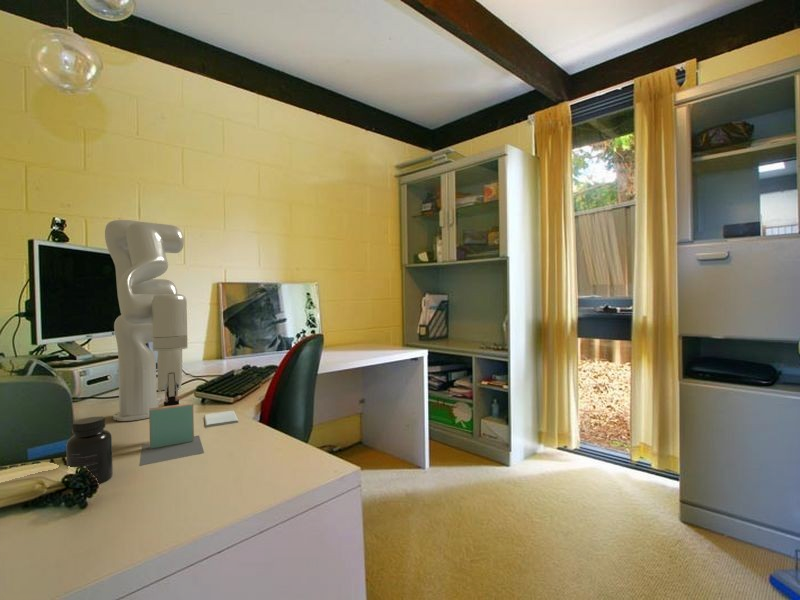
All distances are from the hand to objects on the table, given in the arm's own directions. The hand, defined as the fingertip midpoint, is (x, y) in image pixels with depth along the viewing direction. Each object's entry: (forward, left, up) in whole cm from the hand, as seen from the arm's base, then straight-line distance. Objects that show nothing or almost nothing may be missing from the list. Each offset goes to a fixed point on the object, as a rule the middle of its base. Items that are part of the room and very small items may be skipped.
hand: (171, 416), depth 97 cm
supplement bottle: (+23, -1, -6) cm, 24 cm away
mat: (+7, +5, -6) cm, 10 cm away
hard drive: (-16, +4, -6) cm, 18 cm away
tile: (+4, +3, -5) cm, 7 cm away
